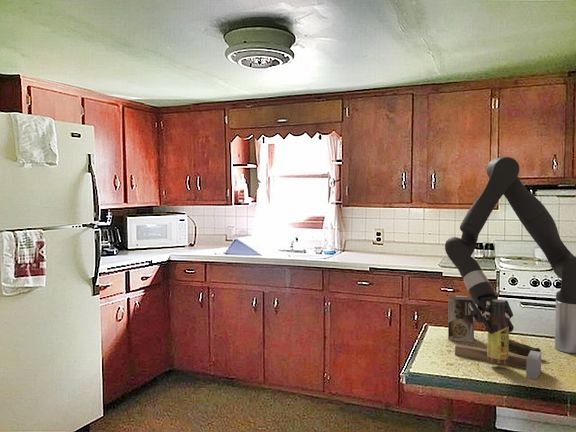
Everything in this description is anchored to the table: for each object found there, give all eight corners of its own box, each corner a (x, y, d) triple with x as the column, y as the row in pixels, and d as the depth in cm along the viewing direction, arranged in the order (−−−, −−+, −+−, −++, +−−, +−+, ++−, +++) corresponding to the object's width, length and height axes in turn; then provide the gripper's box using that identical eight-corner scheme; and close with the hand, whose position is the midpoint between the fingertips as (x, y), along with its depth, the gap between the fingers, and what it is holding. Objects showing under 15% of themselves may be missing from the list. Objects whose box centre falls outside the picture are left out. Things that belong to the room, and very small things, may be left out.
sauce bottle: (504, 367, 151) (505, 304, 149) (483, 362, 155) (484, 301, 154) (511, 361, 156) (512, 300, 154) (491, 356, 160) (492, 297, 158)
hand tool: (541, 359, 162) (542, 345, 162) (533, 361, 161) (533, 347, 160) (496, 343, 180) (496, 330, 179) (488, 344, 178) (488, 332, 178)
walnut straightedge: (457, 352, 169) (457, 344, 169) (529, 366, 156) (530, 357, 156) (454, 354, 167) (455, 346, 167) (528, 368, 154) (528, 359, 154)
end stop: (530, 368, 153) (530, 350, 153) (540, 370, 152) (541, 352, 151) (526, 377, 147) (526, 357, 146) (537, 379, 145) (537, 359, 145)
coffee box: (474, 338, 185) (475, 296, 184) (473, 343, 179) (474, 300, 178) (449, 335, 188) (449, 294, 187) (447, 340, 183) (448, 297, 182)
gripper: (465, 282, 159) (488, 328, 148) (502, 279, 163) (527, 324, 152) (455, 294, 164) (477, 339, 154) (491, 291, 168) (515, 335, 158)
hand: (502, 331), depth 153 cm, fingers closed on sauce bottle, 6 cm apart
